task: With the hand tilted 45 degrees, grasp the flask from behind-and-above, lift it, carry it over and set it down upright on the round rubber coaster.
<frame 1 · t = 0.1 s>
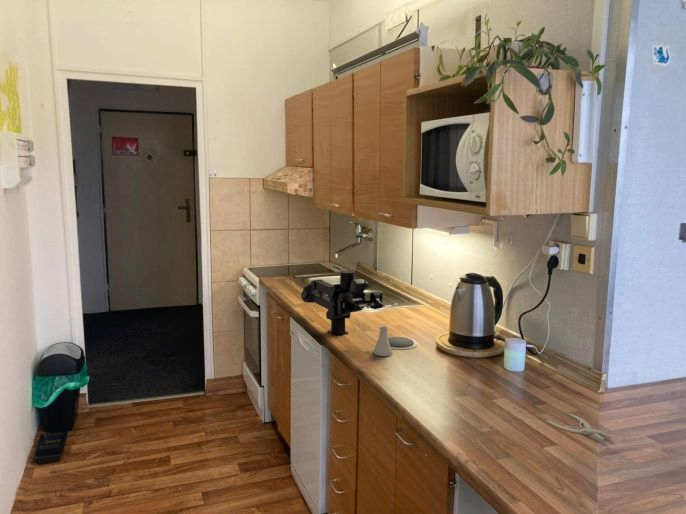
hand: (372, 307, 207), 17 cm above the worktop, tool horizontal, fingers open, 9 cm apart
coaster: (398, 343, 219), on the worktop
flask: (382, 354, 207), on the worktop
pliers: (581, 431, 149), on the worktop
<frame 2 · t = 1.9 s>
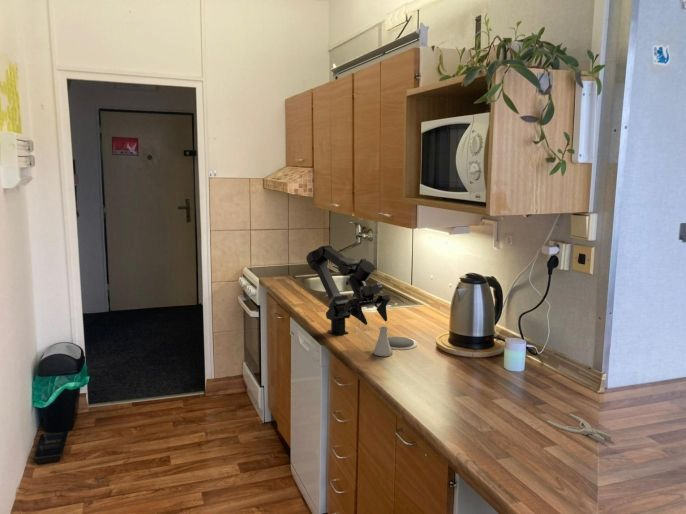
hand: (376, 322, 208), 11 cm above the worktop, tool tilted 45°, fingers open, 9 cm apart
nothing on the worktop moved.
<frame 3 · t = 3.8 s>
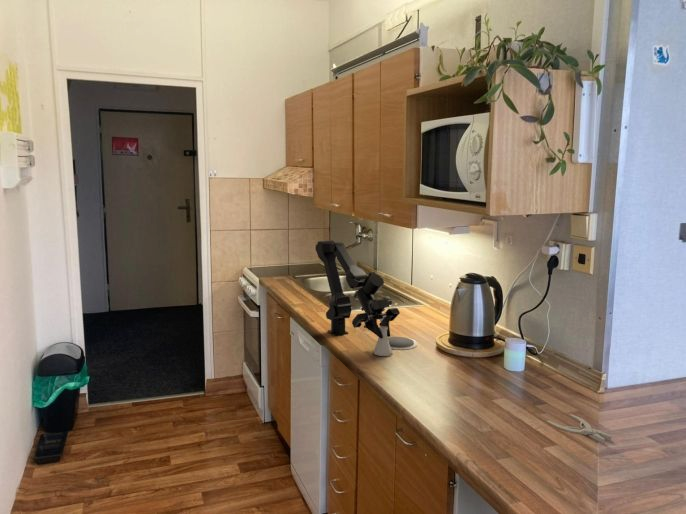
hand: (385, 337, 204), 7 cm above the worktop, tool tilted 45°, fingers closed on flask, 3 cm apart
flask: (382, 354, 207), on the worktop, touching gripper
everything else where it was.
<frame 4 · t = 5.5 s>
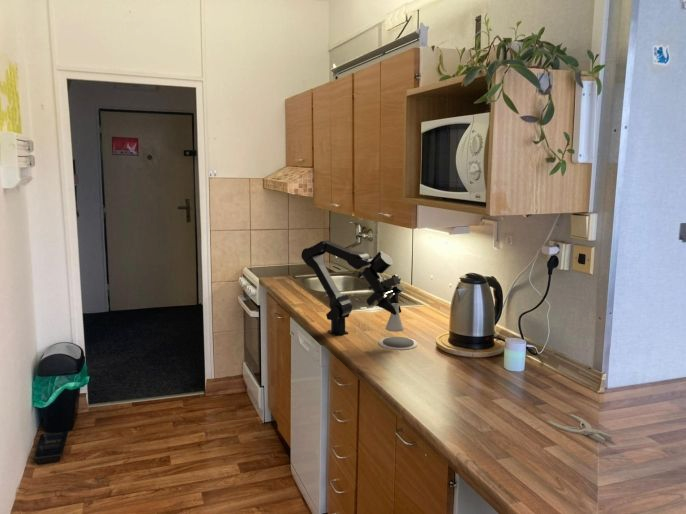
hand: (398, 313, 212), 13 cm above the worktop, tool tilted 45°, fingers closed on flask, 3 cm apart
flask: (394, 330, 214), point 6 cm above the worktop, touching gripper
everything else where it was.
when the fingers open (9 cm above the worktop, at t = 7.1 s): flask drops 1 cm, resting on coaster.
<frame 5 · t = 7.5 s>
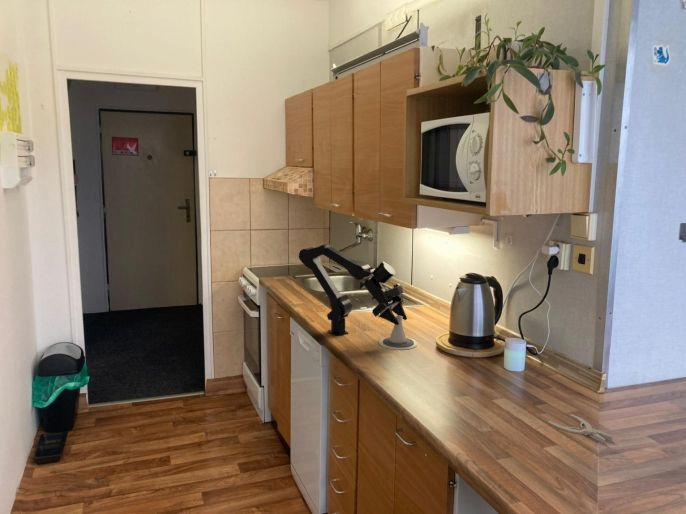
hand: (402, 322, 216), 9 cm above the worktop, tool tilted 45°, fingers open, 8 cm apart
flask: (397, 341, 219), point 1 cm above the worktop, touching coaster
everything else where it was.
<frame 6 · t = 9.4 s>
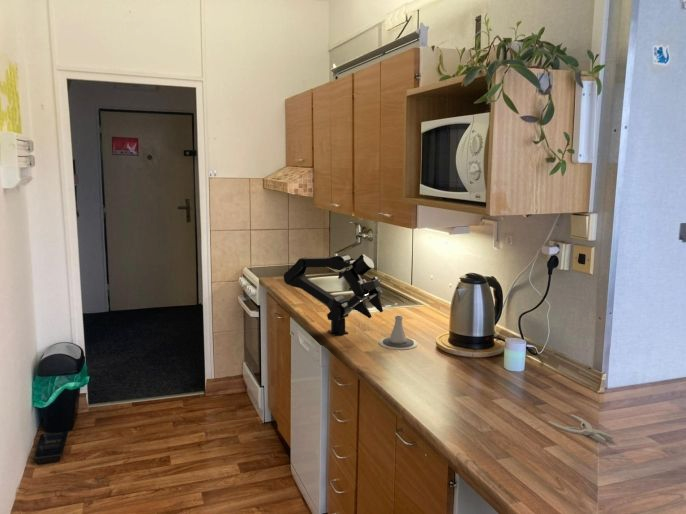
hand: (376, 314, 221), 10 cm above the worktop, tool tilted 40°, fingers open, 9 cm apart
nothing on the worktop moved.
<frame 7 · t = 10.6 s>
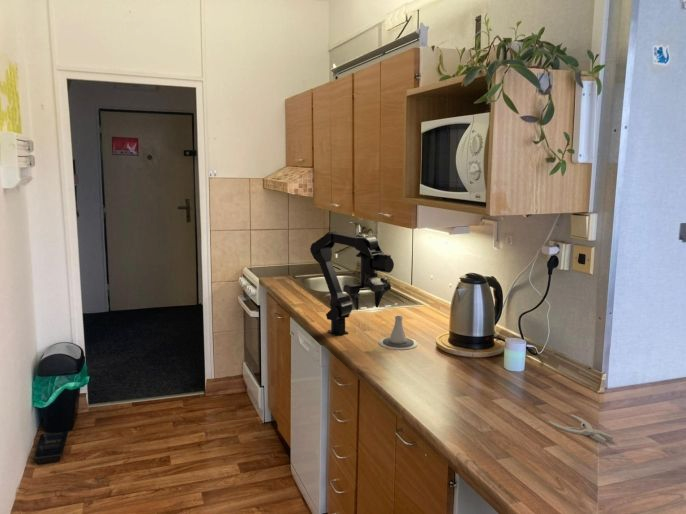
hand: (367, 308, 220), 13 cm above the worktop, tool pointing down, fingers open, 9 cm apart
nothing on the worktop moved.
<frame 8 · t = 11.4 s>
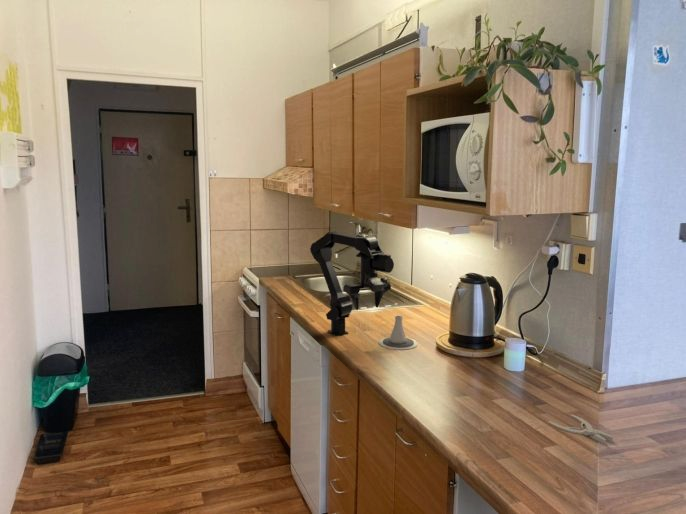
hand: (367, 308, 220), 13 cm above the worktop, tool pointing down, fingers open, 9 cm apart
nothing on the worktop moved.
at the end: flask 0.2 cm from the coaster (horizontally); flask tilted 0°; the gripper is holding nothing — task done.
